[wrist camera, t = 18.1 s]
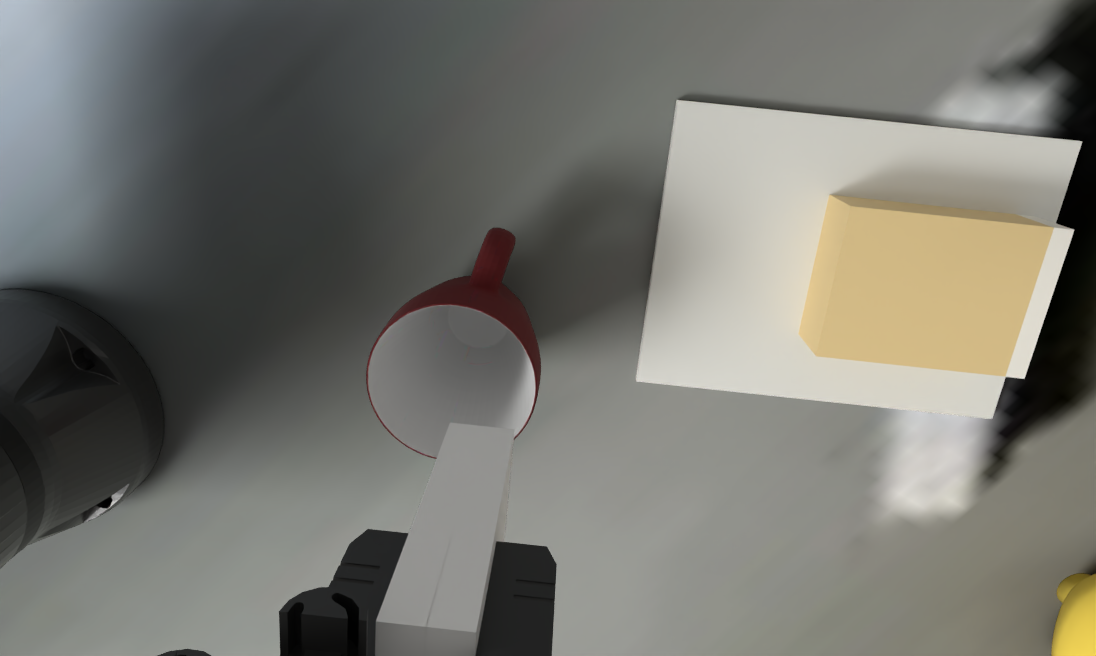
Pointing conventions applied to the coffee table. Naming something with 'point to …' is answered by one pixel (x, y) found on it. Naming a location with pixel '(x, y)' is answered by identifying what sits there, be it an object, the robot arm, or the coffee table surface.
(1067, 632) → the teapot
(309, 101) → the coffee table surface
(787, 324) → the mat
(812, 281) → the slab
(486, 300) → the mug
